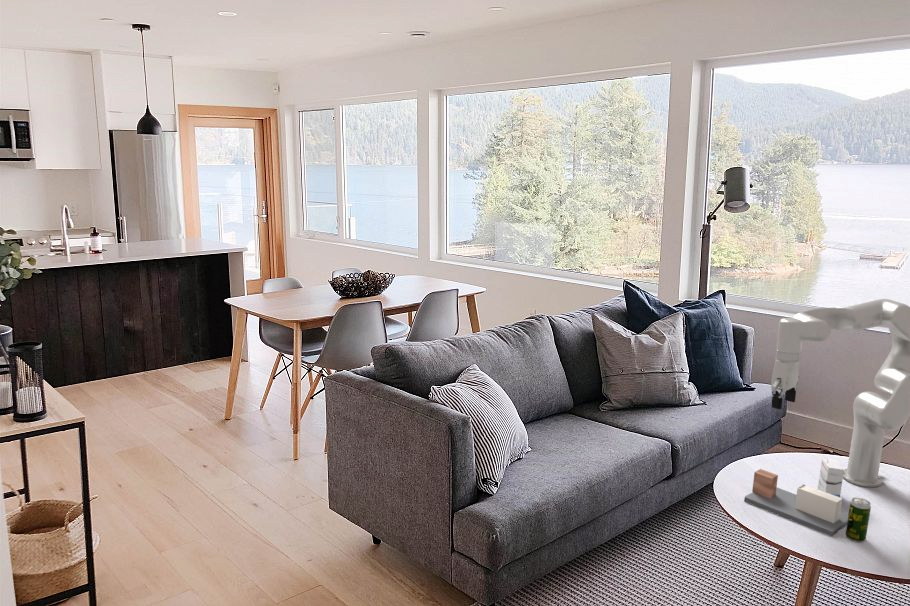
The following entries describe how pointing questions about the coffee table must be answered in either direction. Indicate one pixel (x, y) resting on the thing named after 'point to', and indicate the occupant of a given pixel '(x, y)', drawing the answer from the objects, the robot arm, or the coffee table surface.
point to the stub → (765, 483)
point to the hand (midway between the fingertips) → (783, 404)
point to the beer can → (858, 520)
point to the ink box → (830, 477)
